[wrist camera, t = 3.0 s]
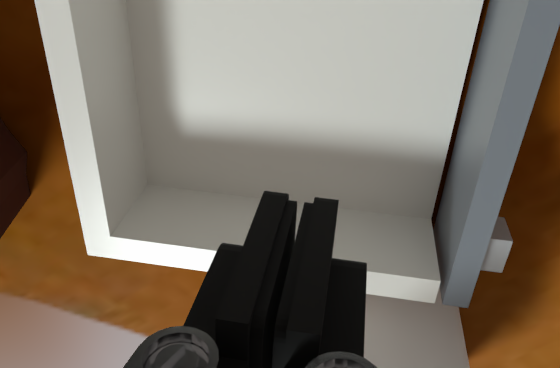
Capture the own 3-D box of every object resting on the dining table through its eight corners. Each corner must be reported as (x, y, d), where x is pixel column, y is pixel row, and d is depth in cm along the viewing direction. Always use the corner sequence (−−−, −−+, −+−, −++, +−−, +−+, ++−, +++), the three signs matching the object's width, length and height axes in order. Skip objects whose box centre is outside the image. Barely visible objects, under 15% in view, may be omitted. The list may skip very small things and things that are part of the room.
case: (71, -262, 17) (-30, -304, 13) (538, -254, 15) (600, -300, 11) (133, 193, 27) (87, 254, 22) (425, 229, 25) (434, 303, 21)
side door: (556, -284, 15) (620, -339, 11) (642, -283, 14) (740, -339, 10) (430, 235, 24) (439, 304, 21) (479, 241, 24) (499, 312, 20)
